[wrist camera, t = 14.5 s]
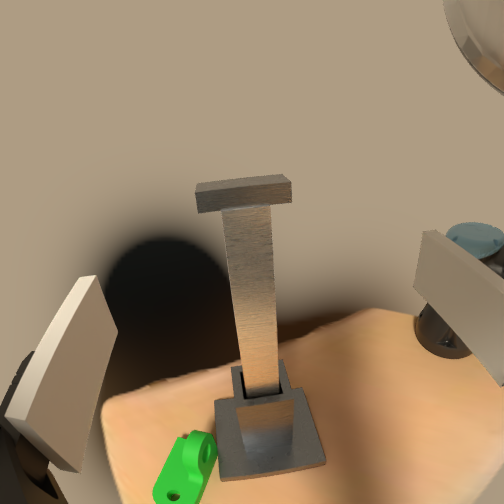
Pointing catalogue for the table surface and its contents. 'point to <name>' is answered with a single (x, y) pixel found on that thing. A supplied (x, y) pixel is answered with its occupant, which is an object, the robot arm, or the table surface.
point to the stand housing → (265, 432)
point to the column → (251, 269)
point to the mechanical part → (186, 469)
